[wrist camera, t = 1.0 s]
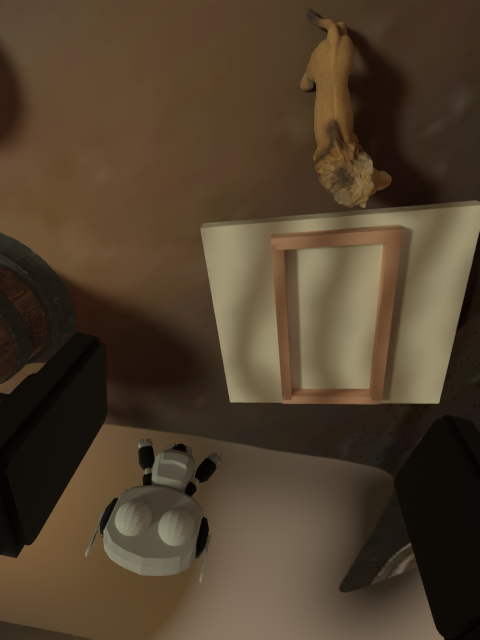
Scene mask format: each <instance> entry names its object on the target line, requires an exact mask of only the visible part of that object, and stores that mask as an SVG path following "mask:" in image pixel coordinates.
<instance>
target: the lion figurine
mask: <svg viewBox="0 0 480 640" xmlns="http://www.w3.org/2000/svg"><path fill="white" fill-rule="evenodd" d="M306 14H307V16H308V19H309V21H310V23H312V24H313V25H315V26H317V27H321V28H324V29H327V30H328V36H327V38H326V39H325V40H323V41H322V42H321V43H320V44H319V45H318V46H317V48H316V49H315V50H314V52H313V53H312V55H311V58H310V61H309V64H308V66H307V70H306V72H305V74H304V76H303V78H302V80H301V89H302V90H303V91H310V90H312V89H313V86H314V82H315V83H316V90H317V91H316V101H315V110H314V113H315V117H314V130H315V138H316V142H317V145H318V147H317V149H316V152H315V153H314V156H313V160H314V161H315V165H314V166H315V171H316V173H317V176H318V177H319V181H320V183H322V185H323V187H324V188H325V189H326V191H328V193H329V194H331V195H332V196H333V198H334V200H335V201H338V203H339V204H343V205H345V206H348V207H353V206H356V205H359V206H360V207H362V208H365V207H366V201H367V200H368V199H369V196H371V195H373V194H374V193H375V192H376V191H377V190H382V189H384V188H385V187H387V186H389V185H390V183H391V180H392V178H391V176H390V175H388V174H387V173H386V172H385V171H378V170H377V169H375V168H374V167H373V162H372V160H371V157H370V156H369V155H367V154H366V153H365V152H364V149H363V147H362V146H361V145H359V142H358V137H357V136H356V134H355V133H354V132H353V109H352V103H351V98H350V94H349V90H348V78H349V74H350V71H351V68H352V65H353V61H354V55H353V52H354V46H353V43H352V40H351V39H350V37H349V36H348V35H347V27H346V24H345V23H344V22H338V23H335V22H334V21H333V20H331V19H321V18H319V17H317V15H316V14H315V13H314V11H313V10H312V9H309V8H308V9H307V10H306Z"/></svg>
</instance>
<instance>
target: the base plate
mask: <svg viewBox="0 0 480 640" xmlns="http://www.w3.org/2000/svg"><path fill="white" fill-rule="evenodd" d="M200 229H201V235H202V241H203V247H204V253H205V258H206V264H207V270H208V276H209V282H210V287H211V293H212V299H213V305H214V311H215V316H216V322H217V328H218V334H219V340H220V345H221V351H222V357H223V363H224V369H225V374H226V380H227V386H228V392H229V398H230V402H282V403H283V404H381V403H439V401H440V396H441V392H442V388H443V384H444V379H445V375H446V371H447V367H448V362H449V358H450V354H451V350H452V345H453V341H454V337H455V333H456V328H457V324H458V320H459V316H460V312H461V307H462V303H463V299H464V295H465V290H466V286H467V282H468V278H469V273H470V269H471V265H472V261H473V256H474V252H475V248H476V244H477V239H478V235H479V231H480V202H479V201H464V202H452V203H441V204H429V205H417V206H405V207H393V208H381V209H369V210H357V211H345V212H333V213H321V214H309V215H297V216H285V217H273V218H261V219H250V220H238V221H226V222H214V223H204V224H203V225H202V227H201V228H200Z"/></svg>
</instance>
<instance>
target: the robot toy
mask: <svg viewBox="0 0 480 640" xmlns="http://www.w3.org/2000/svg"><path fill="white" fill-rule="evenodd" d="M143 443H144V440H141V441H140V442H139V445H138V447H139V452H138V453H139V463H140V466H141V467H142V469H143V470H144V471H145V475H144V476H143V486H136V487H133V488H130V489H127V490H126V491H125V492H123V493H122V494H121V496H120V497H119V498H114V499H113V501H112V502H111V503H110V504H109V505H108V506H107V508H106V510H105V512H103V511H102V512H101V514H100V516H99V518H100V519H99V522H98V524H97V527H96V529H95V532H94V534H93V536H92V539H91V542H90V544H89V546H88V548H87V550H86V553H85V557H86V556H87V555H88V554H89V552H90V550H91V545H92V543H93V541H94V538H95V535H96V533H97V531H98V528H99V526H100V533H101V536H102V537H103V538H104V550H105V551H106V553H107V554H108V556H109V558H110V559H112V560H113V561H114V562H115V563H117V564H118V565H120V566H122V567H124V568H126V569H128V570H131V571H133V572H135V573H138V574H140V575H155V576H165V575H173V574H177V573H180V572H182V571H184V570H186V569H187V568H188V567H189V566H190V565H191V563H192V562H193V560H194V559H195V558H199V557H200V555H201V554H202V552H203V551H204V549H205V547H206V551H205V556H204V561H203V566H202V571H201V575H200V582H201V581H202V578H203V571H204V565H205V560H206V555H207V550H208V545H209V543H210V539H211V535H208V531H209V528H208V521H207V518H205V517H204V516H203V511H202V507H201V505H200V504H199V503H198V502H197V501H196V500H195V499H194V498H192V497H191V496H192V495H193V494H194V493H195V492H196V486H197V485H198V483H202V482H205V481H207V480H208V479H209V477H210V476H211V475H212V474H213V473H214V471H215V470H216V466H218V465H219V464H220V463H221V461H222V460H221V457H220V456H218V458H217V459H215V458H216V457H217V454H216V453H213V454H211V455H210V456H209V457H208V458H206V459H205V460H204V461H203V462H202V463H201V464H200V466H199V467H198V468H197V471H196V474H195V479H194V480H193V477H194V471H195V460H194V458H193V457H192V450H191V448H189V447H188V446H185V445H183V444H178V445H177V446H176V444H170V445H169V446H168V447H167V448H166V449H165V450H164V451H162V452H160V453H159V454H158V456H157V457H156V459H154V451H153V447H152V445H153V444H152V442H151V440H150V439H146V443H145V444H143ZM185 451H186V452H185ZM154 461H155V462H154ZM153 464H154V466H153ZM152 466H153V472H152V473H151V468H152ZM192 480H193V481H192ZM206 542H207V546H206Z"/></svg>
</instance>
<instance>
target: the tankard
mask: <svg viewBox="0 0 480 640" xmlns="http://www.w3.org/2000/svg"><path fill="white" fill-rule="evenodd" d="M75 332H76V314H75V310H74V306H73V302H72V300H71V298H70V296H69V293H68V291H67V289H66V287H65V286H64V284H63V283H62V281H61V280H60V278H59V277H58V275H57V274H56V273H55V272H54V271H53V270H52V268H51V267H50V266H49V265H48V264H47V263H46V262H45V261H44V260H43V259H42V258H41V257H39V256H38V255H37V254H36V253H35V252H34V251H32V250H31V249H30V248H28V247H27V246H25V245H23V244H22V243H20V242H19V241H17V240H16V239H13V238H11V237H9V236H7V235H5V234H2V233H0V384H2V383H4V382H6V381H7V380H9V379H11V378H12V377H13V376H14V375H15V374H16V373H18V372H19V371H20V370H21V369H22V368H23V367H24V366H25V365H26V364H31V363H43V362H47V361H49V360H50V359H51V358H52V357H53V356H54V355H55V354H56V353H57V351H58V350H59V349H60V348H61V347H62V346H63V345H64V344H65V343H66V342H67V341H68V340H69V339H70V338H71V337H72V336H73V335H74V334H75ZM8 395H9V394H4V393H0V404H1V402H2V401H3V400H4V399H5V398H6V397H7V396H8Z"/></svg>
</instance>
